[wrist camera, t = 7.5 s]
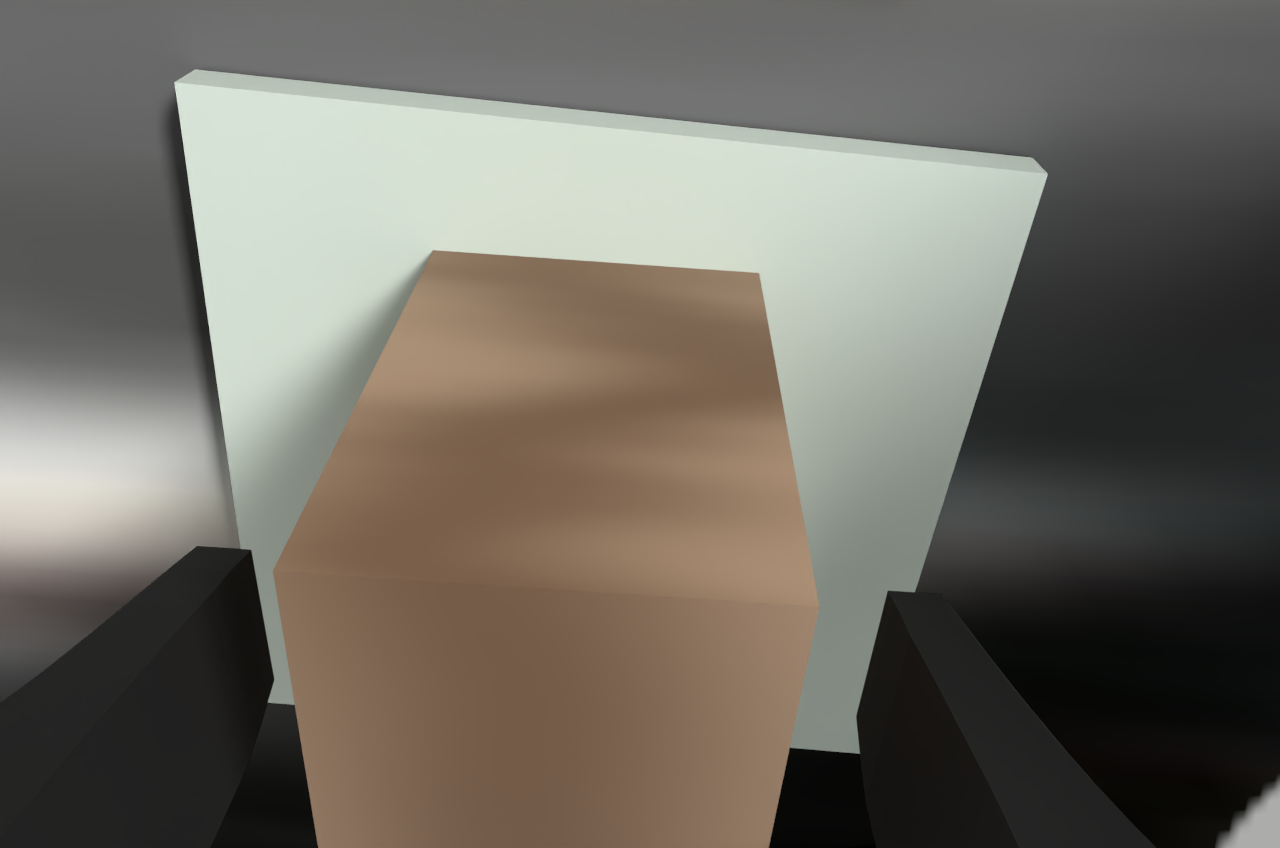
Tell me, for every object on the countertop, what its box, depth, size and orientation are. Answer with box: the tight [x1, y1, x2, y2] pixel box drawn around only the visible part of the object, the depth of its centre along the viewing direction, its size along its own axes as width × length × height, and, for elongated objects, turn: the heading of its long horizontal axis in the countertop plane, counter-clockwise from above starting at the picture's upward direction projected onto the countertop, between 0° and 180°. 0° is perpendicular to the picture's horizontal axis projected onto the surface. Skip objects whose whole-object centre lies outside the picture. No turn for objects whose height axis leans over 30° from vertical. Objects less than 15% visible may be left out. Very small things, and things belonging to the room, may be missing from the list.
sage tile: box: [175, 70, 1048, 754], centre depth 15 cm, size 10×10×1 cm
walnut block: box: [273, 250, 819, 848], centre depth 12 cm, size 4×6×6 cm, turn 176°
